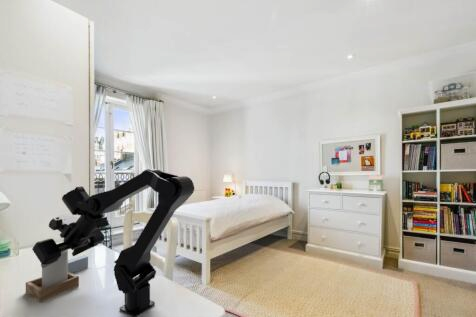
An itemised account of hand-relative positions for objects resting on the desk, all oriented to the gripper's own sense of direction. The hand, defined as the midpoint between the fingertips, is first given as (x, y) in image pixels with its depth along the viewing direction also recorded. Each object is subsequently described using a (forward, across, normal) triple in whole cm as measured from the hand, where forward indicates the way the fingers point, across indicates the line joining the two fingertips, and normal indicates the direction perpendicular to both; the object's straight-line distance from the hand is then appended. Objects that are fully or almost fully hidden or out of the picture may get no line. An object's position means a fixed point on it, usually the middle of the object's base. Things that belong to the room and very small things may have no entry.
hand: (58, 260), depth 73 cm
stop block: (+12, -12, 0) cm, 17 cm away
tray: (+8, 0, +5) cm, 9 cm away
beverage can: (+8, -1, +4) cm, 9 cm away
